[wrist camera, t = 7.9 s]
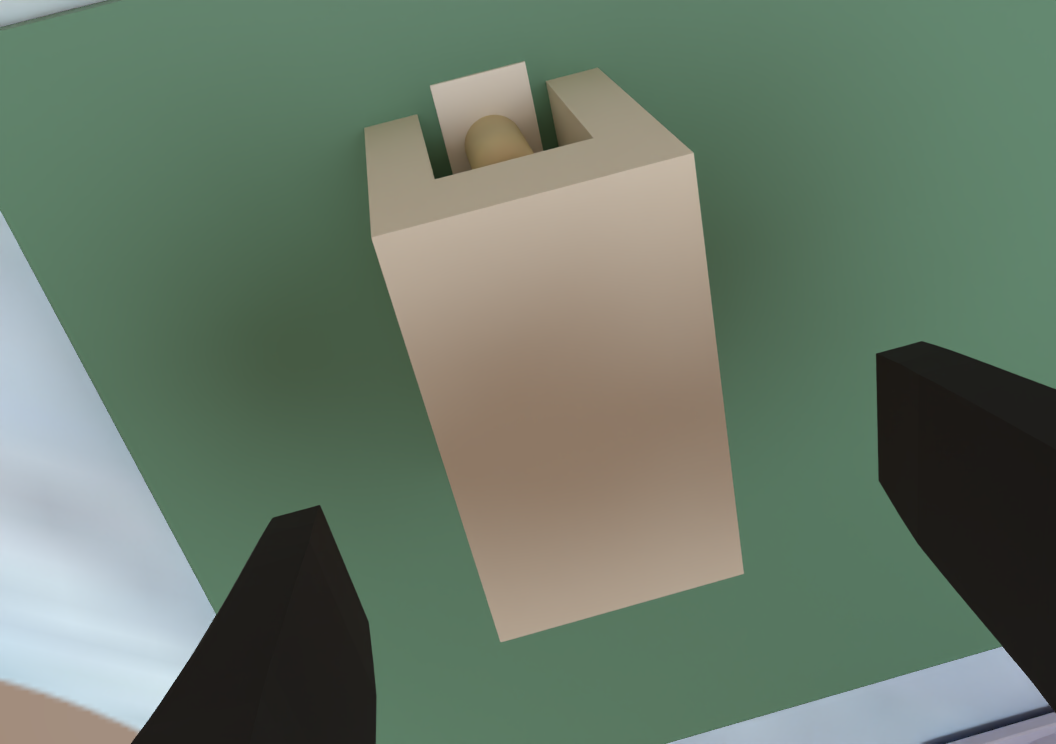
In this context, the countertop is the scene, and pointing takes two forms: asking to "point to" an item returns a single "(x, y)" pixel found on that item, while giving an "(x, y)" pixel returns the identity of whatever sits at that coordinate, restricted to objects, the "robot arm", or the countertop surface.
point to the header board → (382, 358)
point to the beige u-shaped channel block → (565, 356)
